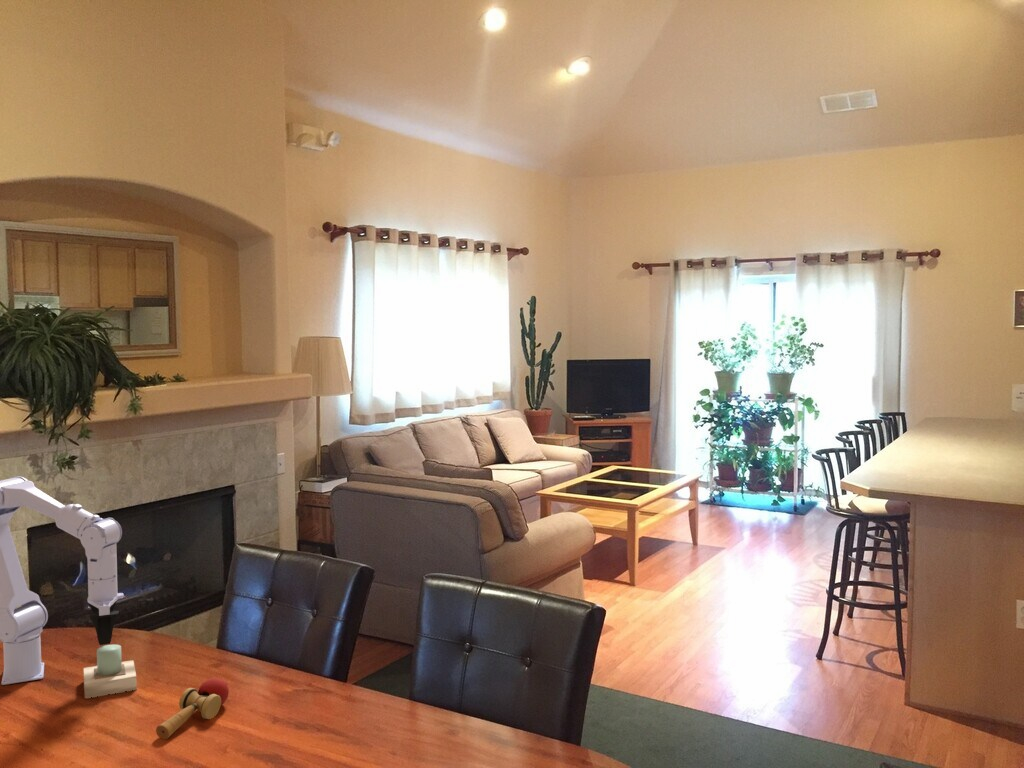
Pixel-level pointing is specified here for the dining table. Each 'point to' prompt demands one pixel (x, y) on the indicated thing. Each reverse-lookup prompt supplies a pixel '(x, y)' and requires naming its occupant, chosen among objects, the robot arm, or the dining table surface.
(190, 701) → the kendama
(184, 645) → the dining table surface
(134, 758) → the dining table surface
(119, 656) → the pale green rounded cylinder
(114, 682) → the birch base
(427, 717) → the dining table surface
